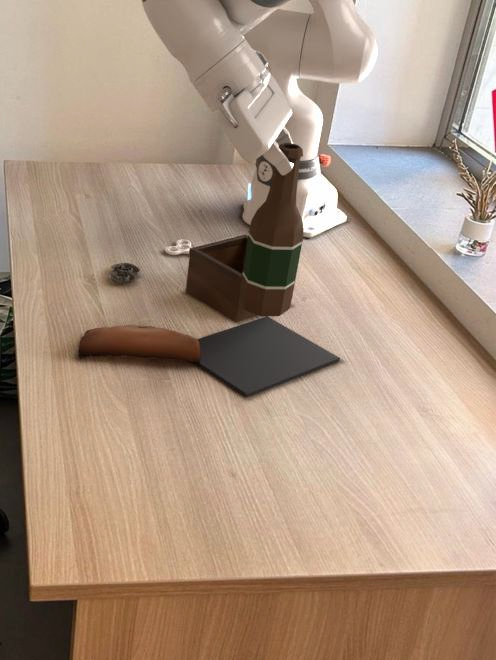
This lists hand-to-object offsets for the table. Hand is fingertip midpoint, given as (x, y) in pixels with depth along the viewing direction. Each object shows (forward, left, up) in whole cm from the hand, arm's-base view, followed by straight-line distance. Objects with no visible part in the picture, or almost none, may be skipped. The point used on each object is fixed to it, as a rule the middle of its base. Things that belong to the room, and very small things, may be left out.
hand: (291, 165), depth 130 cm
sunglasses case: (+16, -9, -29) cm, 34 cm away
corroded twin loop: (+2, -31, -29) cm, 43 cm away
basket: (-10, -15, -29) cm, 34 cm away
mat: (+1, +1, -29) cm, 29 cm away
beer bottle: (0, -1, -22) cm, 22 cm away
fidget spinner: (-15, -34, -29) cm, 47 cm away
